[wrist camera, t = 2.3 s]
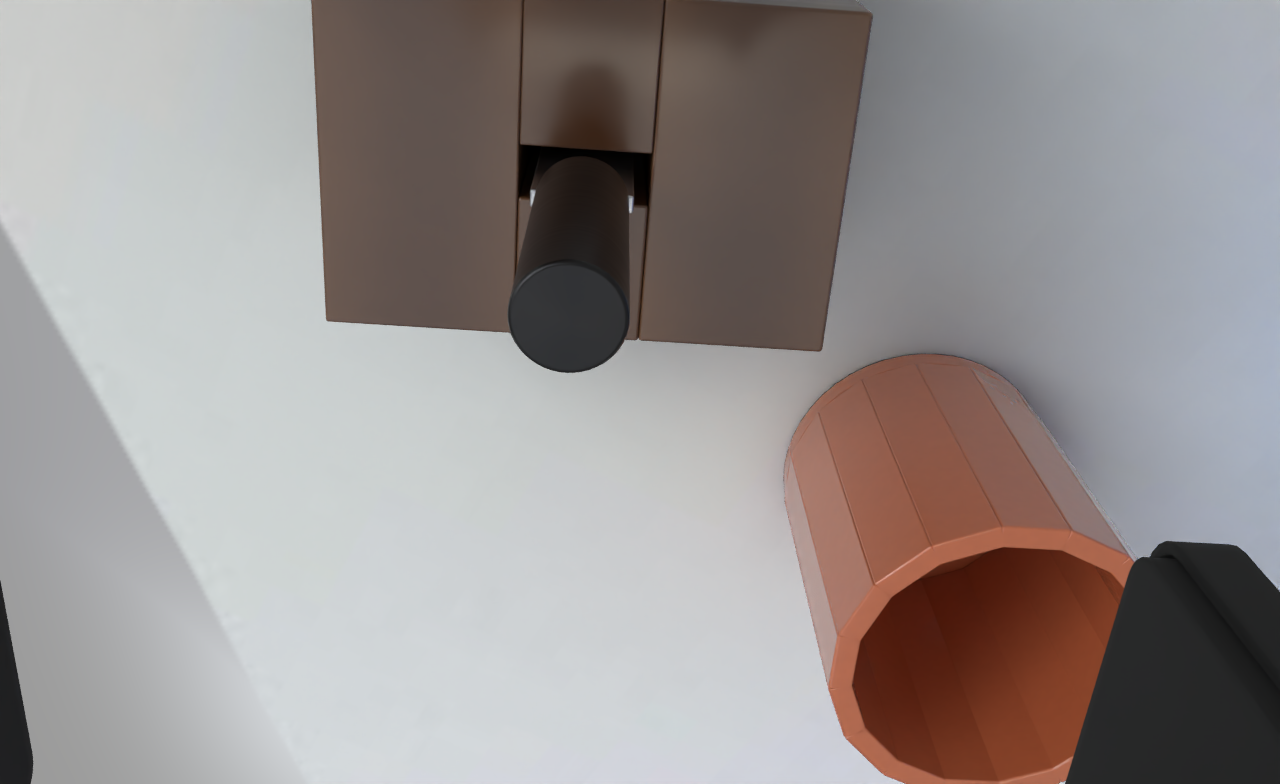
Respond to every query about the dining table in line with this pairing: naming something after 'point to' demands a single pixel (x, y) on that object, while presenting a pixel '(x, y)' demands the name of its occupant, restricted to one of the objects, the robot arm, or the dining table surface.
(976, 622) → the cup
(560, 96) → the knife block
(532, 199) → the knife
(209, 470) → the dining table surface
